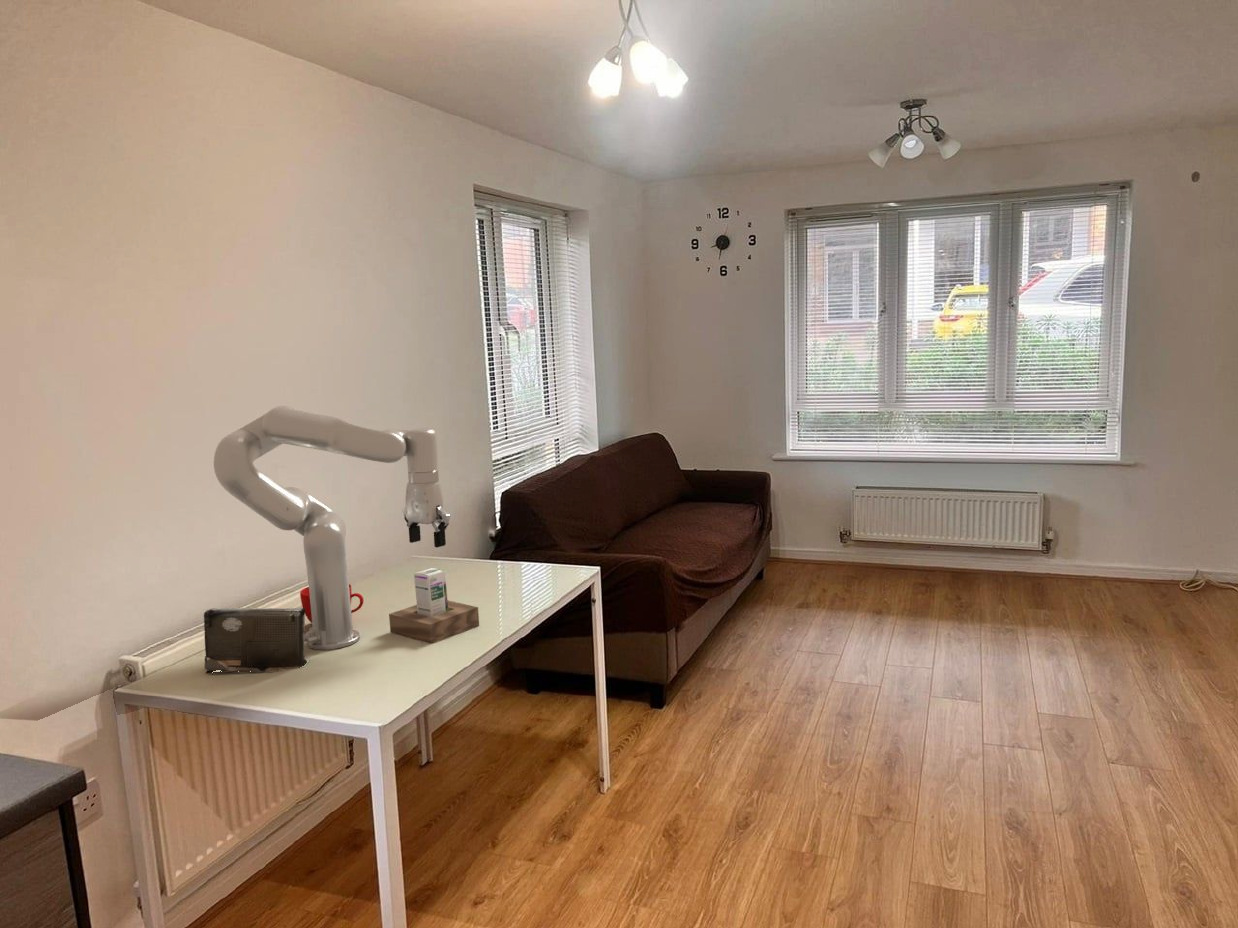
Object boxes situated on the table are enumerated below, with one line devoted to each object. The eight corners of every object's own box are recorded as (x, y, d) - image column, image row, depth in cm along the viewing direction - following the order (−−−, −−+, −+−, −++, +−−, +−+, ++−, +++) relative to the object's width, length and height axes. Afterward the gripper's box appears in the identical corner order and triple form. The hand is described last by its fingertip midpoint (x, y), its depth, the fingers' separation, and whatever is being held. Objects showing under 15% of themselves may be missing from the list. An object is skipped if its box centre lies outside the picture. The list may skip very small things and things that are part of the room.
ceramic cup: (353, 634, 225) (349, 596, 223) (293, 632, 228) (290, 595, 227) (376, 618, 237) (373, 582, 236) (320, 616, 241) (316, 581, 239)
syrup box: (432, 630, 222) (428, 575, 220) (417, 626, 226) (413, 572, 223) (449, 624, 226) (446, 569, 224) (434, 620, 230) (430, 566, 228)
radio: (316, 659, 208) (310, 599, 206) (301, 673, 199) (295, 610, 197) (220, 662, 209) (213, 602, 207) (202, 676, 200) (194, 613, 198)
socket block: (431, 643, 215) (429, 624, 214) (390, 632, 225) (389, 613, 224) (479, 625, 227) (478, 607, 227) (438, 615, 237) (437, 597, 236)
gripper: (389, 477, 223) (394, 542, 225) (434, 482, 212) (438, 551, 214) (413, 473, 228) (417, 537, 231) (457, 478, 218) (461, 545, 220)
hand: (427, 543), depth 223 cm, fingers open, 9 cm apart
